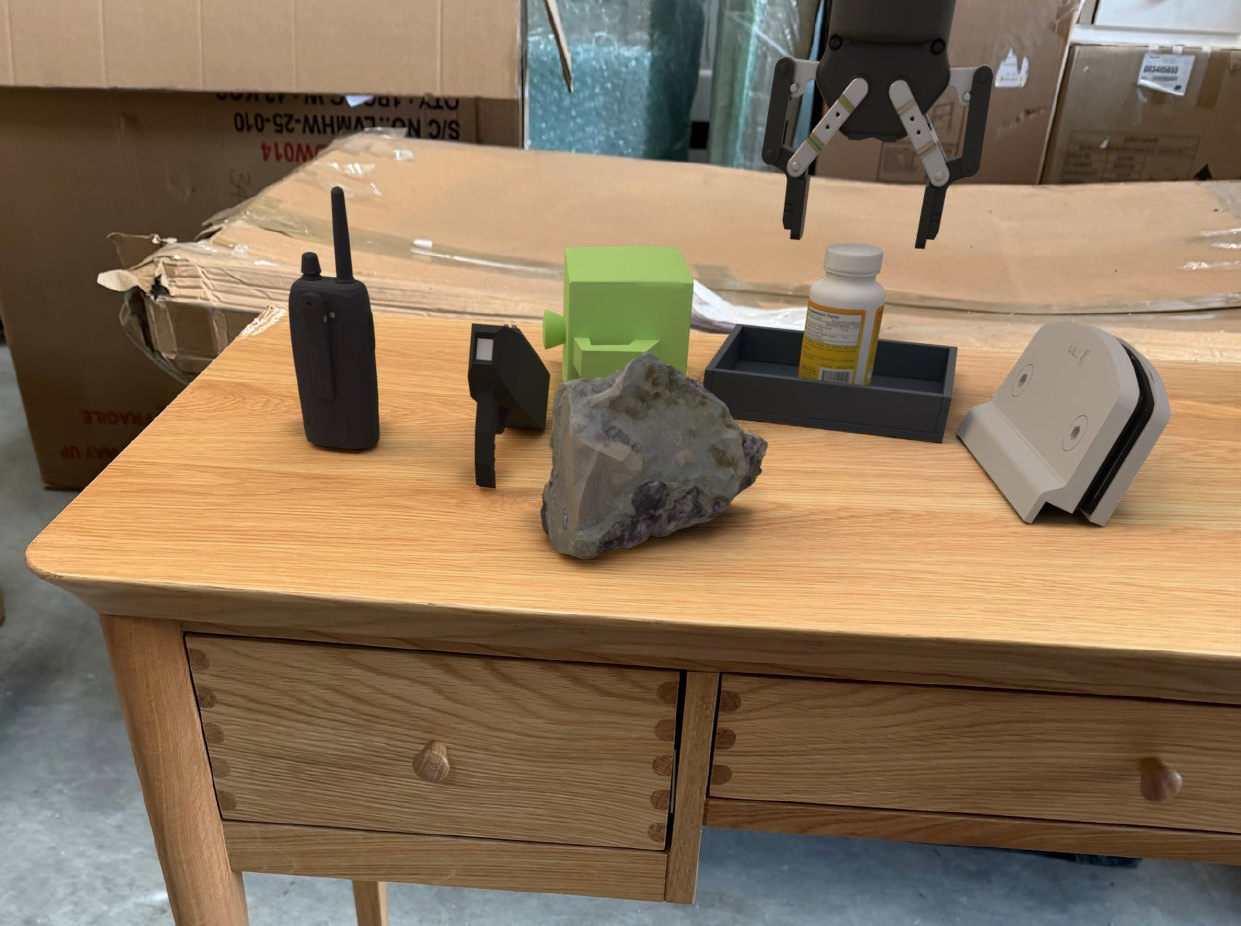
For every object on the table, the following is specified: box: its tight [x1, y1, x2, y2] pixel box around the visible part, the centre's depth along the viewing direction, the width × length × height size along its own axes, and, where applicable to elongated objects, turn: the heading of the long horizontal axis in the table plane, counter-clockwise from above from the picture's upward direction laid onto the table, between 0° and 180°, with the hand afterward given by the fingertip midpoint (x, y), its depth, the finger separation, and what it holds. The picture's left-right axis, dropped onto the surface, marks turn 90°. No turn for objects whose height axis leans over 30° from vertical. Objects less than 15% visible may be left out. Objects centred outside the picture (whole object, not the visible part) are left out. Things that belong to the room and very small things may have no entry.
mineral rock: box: [539, 352, 769, 560], centre depth 65 cm, size 13×11×10 cm
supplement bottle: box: [798, 242, 887, 386], centre depth 85 cm, size 5×5×10 cm
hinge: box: [955, 320, 1172, 527], centre depth 75 cm, size 17×5×10 cm, turn 0°
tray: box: [702, 323, 959, 444], centre depth 87 cm, size 17×13×3 cm
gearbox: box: [542, 245, 695, 382], centre depth 85 cm, size 18×10×10 cm, turn 2°
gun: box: [467, 322, 551, 490], centre depth 76 cm, size 3×16×10 cm, turn 170°
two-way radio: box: [287, 185, 381, 452], centre depth 73 cm, size 6×4×15 cm
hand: (857, 242), depth 82 cm, fingers open, 8 cm apart
